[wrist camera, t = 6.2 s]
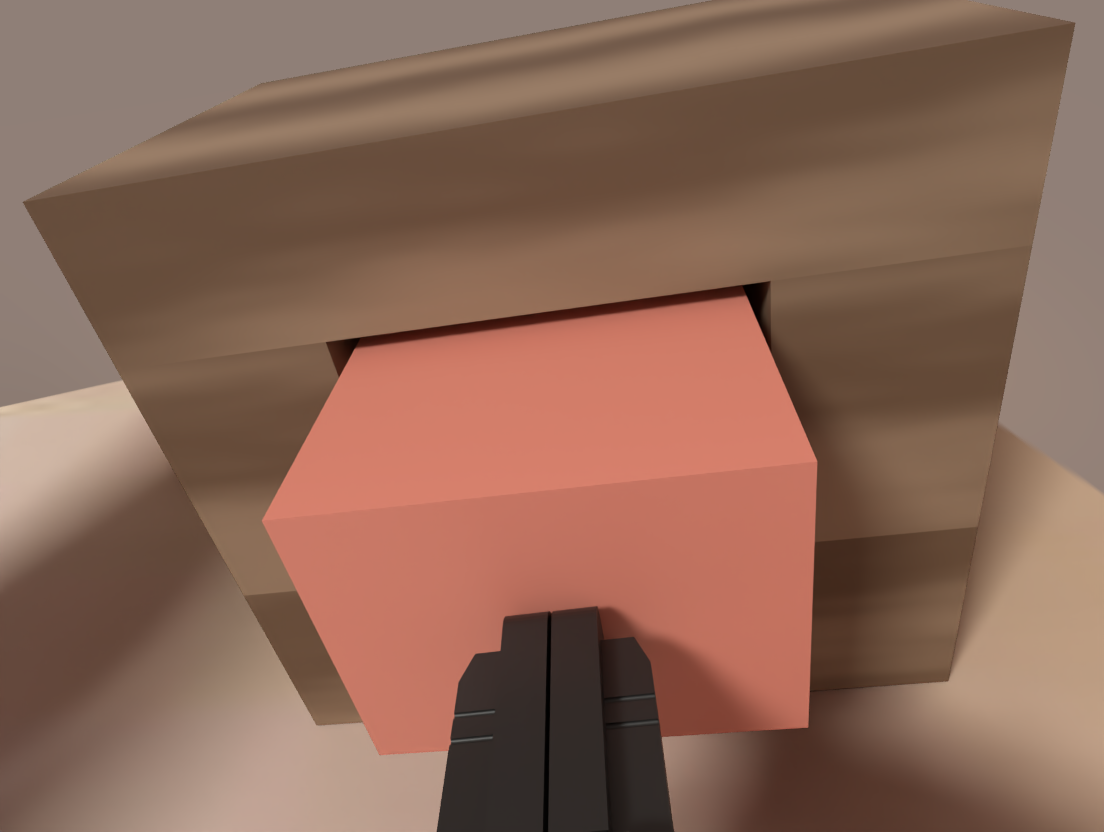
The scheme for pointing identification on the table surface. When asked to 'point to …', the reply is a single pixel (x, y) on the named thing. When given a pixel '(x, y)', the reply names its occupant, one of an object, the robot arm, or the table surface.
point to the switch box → (607, 261)
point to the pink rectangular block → (561, 509)
